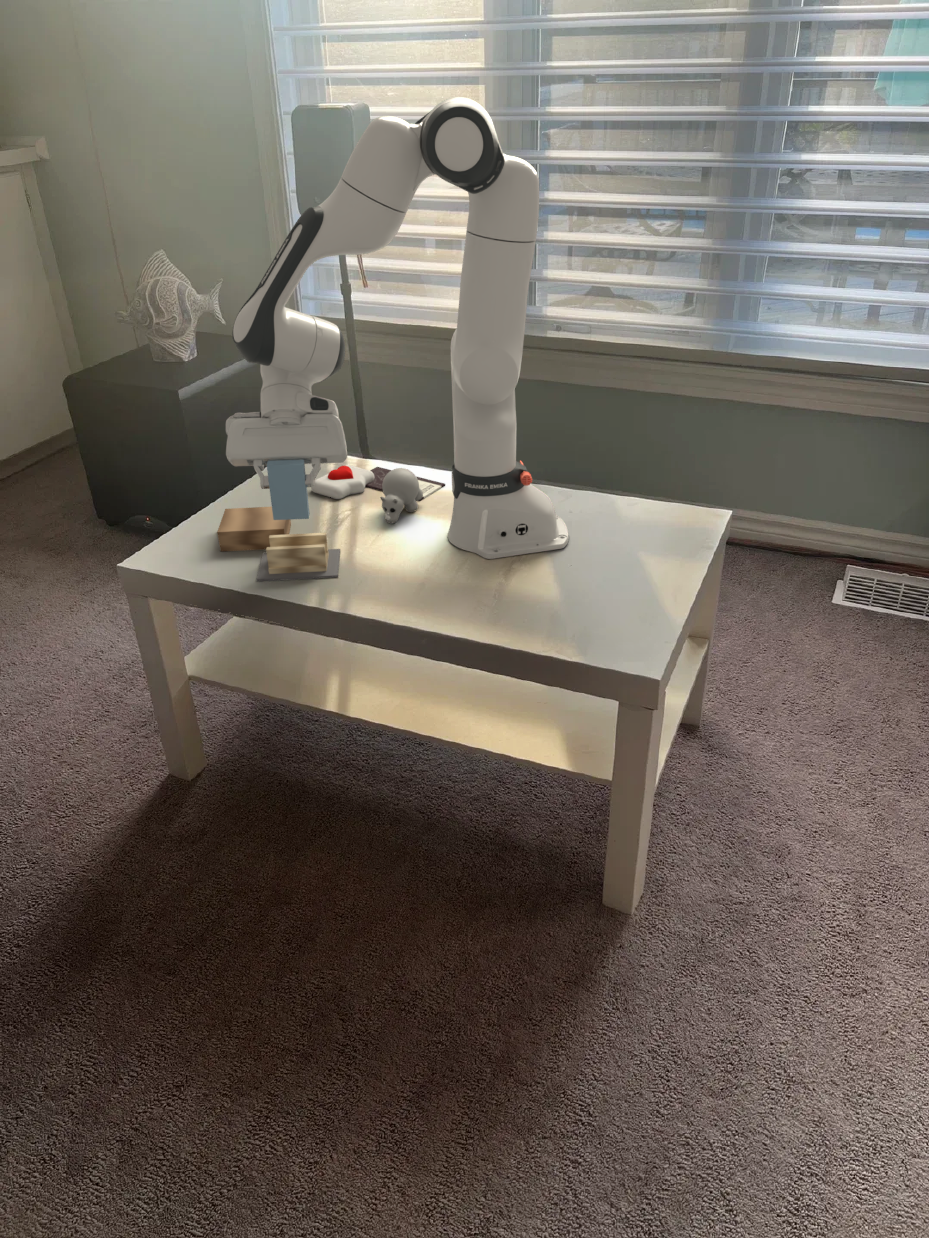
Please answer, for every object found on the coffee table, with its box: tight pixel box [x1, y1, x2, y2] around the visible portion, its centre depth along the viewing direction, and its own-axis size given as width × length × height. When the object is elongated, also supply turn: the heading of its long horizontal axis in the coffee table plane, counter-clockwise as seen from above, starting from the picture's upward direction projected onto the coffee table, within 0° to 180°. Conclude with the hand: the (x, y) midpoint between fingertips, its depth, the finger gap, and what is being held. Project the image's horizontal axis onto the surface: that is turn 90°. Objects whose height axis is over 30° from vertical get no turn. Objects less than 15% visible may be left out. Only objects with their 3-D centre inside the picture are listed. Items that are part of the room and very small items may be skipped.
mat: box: [255, 548, 341, 582], centre depth 163 cm, size 14×10×1 cm
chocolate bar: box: [365, 466, 446, 502], centre depth 193 cm, size 9×1×18 cm
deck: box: [216, 506, 292, 552], centre depth 172 cm, size 12×10×4 cm
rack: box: [265, 532, 329, 574], centre depth 162 cm, size 10×7×5 cm, turn 94°
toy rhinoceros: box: [379, 467, 423, 525], centre depth 179 cm, size 7×12×8 cm, turn 159°
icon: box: [310, 464, 374, 500], centre depth 191 cm, size 12×4×10 cm
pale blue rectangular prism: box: [266, 460, 310, 520], centre depth 155 cm, size 6×2×10 cm, turn 94°
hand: (287, 487), depth 155 cm, fingers closed on pale blue rectangular prism, 6 cm apart
